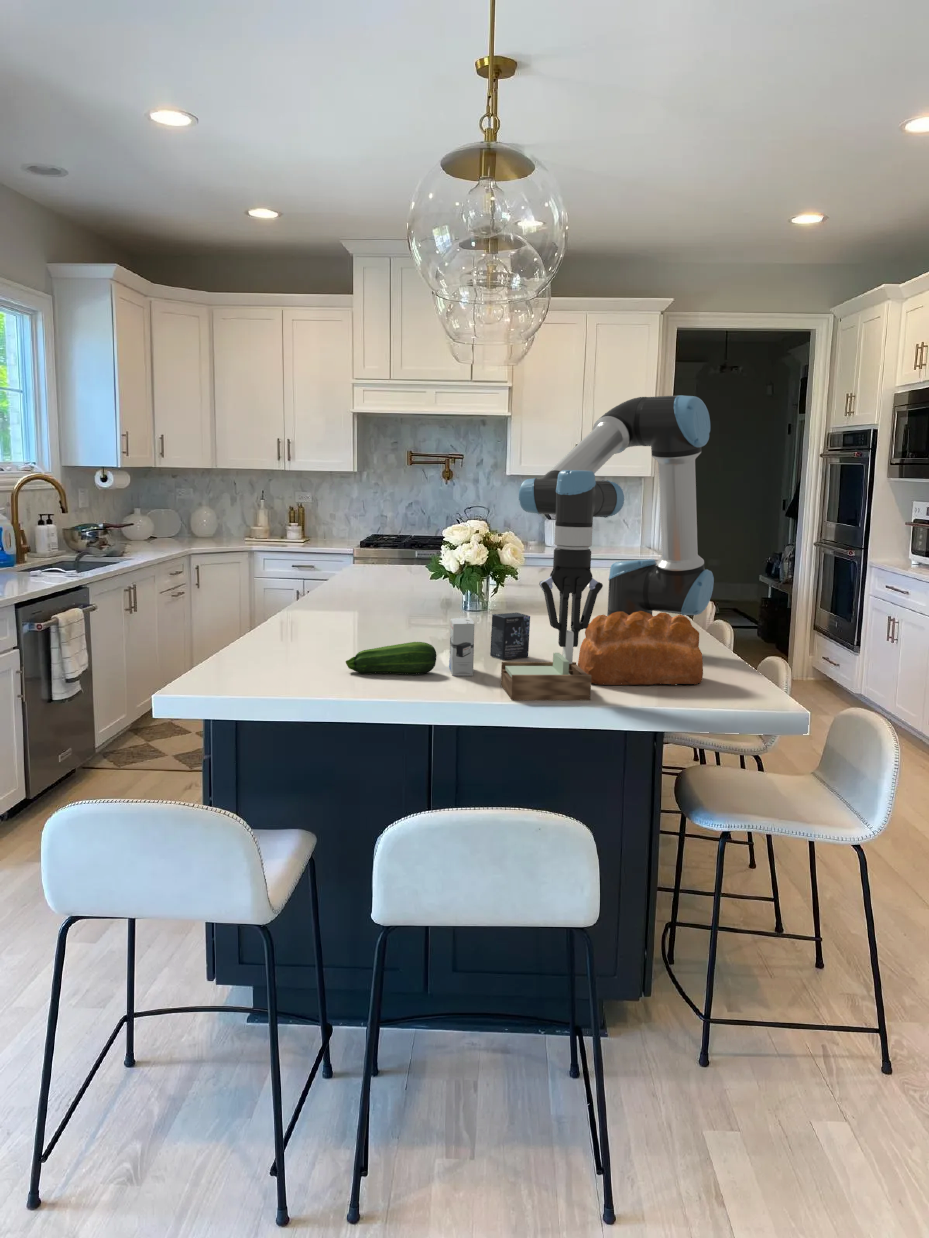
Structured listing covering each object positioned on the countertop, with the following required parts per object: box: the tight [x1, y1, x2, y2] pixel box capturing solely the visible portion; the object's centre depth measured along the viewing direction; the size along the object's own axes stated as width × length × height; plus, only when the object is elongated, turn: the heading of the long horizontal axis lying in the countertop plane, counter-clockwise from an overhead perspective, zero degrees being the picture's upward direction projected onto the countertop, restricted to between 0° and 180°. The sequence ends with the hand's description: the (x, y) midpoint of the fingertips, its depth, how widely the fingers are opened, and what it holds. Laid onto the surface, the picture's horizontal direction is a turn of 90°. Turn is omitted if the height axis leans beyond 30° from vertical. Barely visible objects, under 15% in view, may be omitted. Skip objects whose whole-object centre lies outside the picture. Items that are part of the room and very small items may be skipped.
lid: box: [505, 652, 571, 678], centre depth 184 cm, size 12×10×4 cm
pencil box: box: [500, 661, 592, 701], centre depth 185 cm, size 16×13×5 cm
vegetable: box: [345, 641, 438, 675], centre depth 198 cm, size 7×7×20 cm
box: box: [489, 612, 531, 661], centre depth 220 cm, size 8×6×11 cm
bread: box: [577, 611, 704, 686], centre depth 199 cm, size 14×26×16 cm, turn 96°
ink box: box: [448, 617, 475, 677], centre depth 201 cm, size 8×5×12 cm, turn 5°
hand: (567, 662), depth 185 cm, fingers closed
